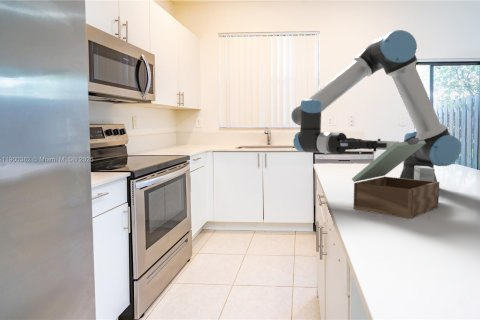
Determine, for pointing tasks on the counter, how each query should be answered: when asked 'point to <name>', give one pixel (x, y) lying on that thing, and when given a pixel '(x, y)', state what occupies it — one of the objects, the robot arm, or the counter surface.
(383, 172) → the lid
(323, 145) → the robot arm
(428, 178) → the ink box
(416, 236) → the counter surface
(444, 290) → the counter surface
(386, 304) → the counter surface
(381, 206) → the wooden box
